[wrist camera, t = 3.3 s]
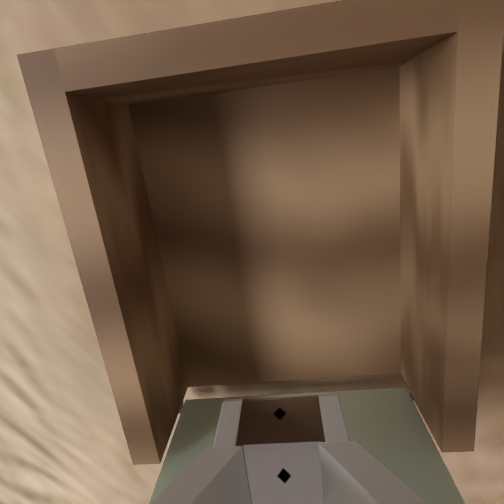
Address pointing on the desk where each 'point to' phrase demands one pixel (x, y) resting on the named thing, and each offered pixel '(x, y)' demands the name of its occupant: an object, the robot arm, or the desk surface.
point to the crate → (281, 201)
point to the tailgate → (359, 429)
